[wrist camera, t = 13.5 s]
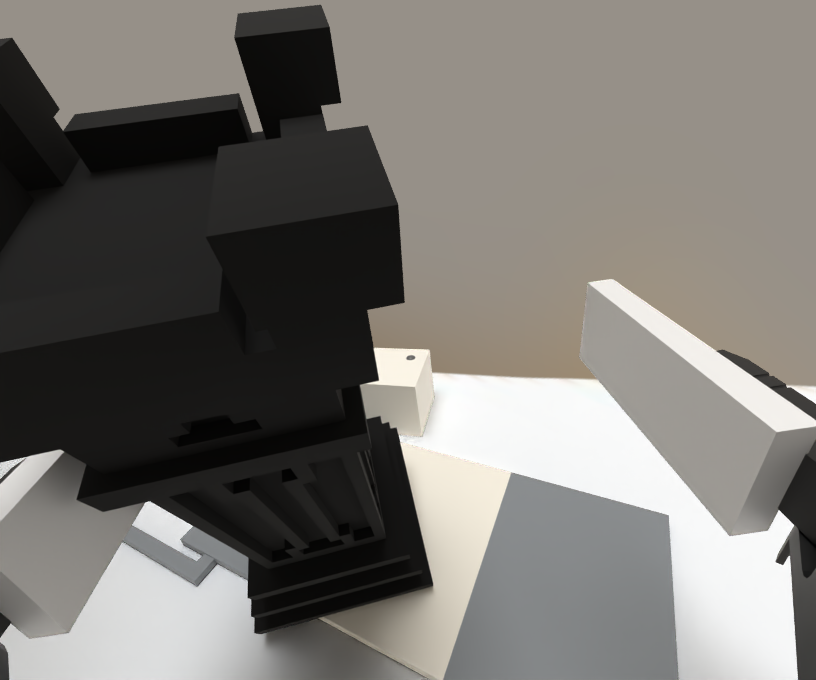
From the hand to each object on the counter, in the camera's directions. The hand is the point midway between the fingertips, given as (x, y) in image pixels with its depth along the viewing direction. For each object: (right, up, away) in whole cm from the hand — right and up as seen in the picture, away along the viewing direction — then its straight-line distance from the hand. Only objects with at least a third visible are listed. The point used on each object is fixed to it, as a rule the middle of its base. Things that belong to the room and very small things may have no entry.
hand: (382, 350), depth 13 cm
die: (0, -5, +18) cm, 19 cm away
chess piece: (-3, -9, +8) cm, 13 cm away
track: (+1, -10, +9) cm, 14 cm away
